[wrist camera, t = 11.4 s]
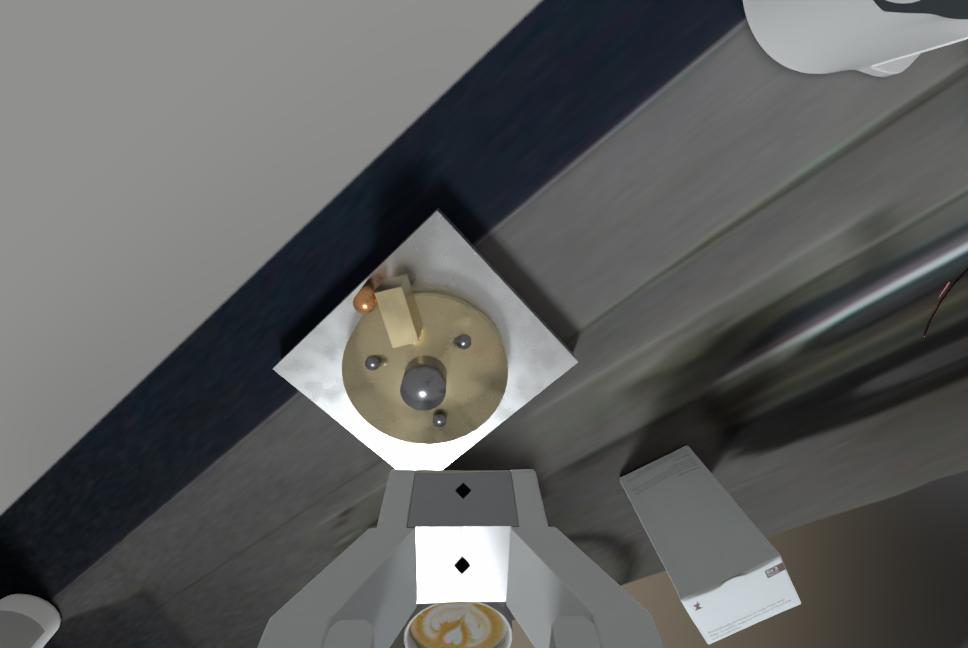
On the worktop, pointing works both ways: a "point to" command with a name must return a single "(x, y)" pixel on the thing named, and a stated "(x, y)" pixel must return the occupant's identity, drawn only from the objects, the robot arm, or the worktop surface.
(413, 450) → the base plate
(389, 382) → the flange plate
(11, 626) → the white bottle
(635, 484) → the skincare box
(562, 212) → the worktop surface
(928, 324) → the figurine
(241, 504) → the worktop surface
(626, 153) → the worktop surface
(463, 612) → the coffee mug
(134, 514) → the worktop surface
